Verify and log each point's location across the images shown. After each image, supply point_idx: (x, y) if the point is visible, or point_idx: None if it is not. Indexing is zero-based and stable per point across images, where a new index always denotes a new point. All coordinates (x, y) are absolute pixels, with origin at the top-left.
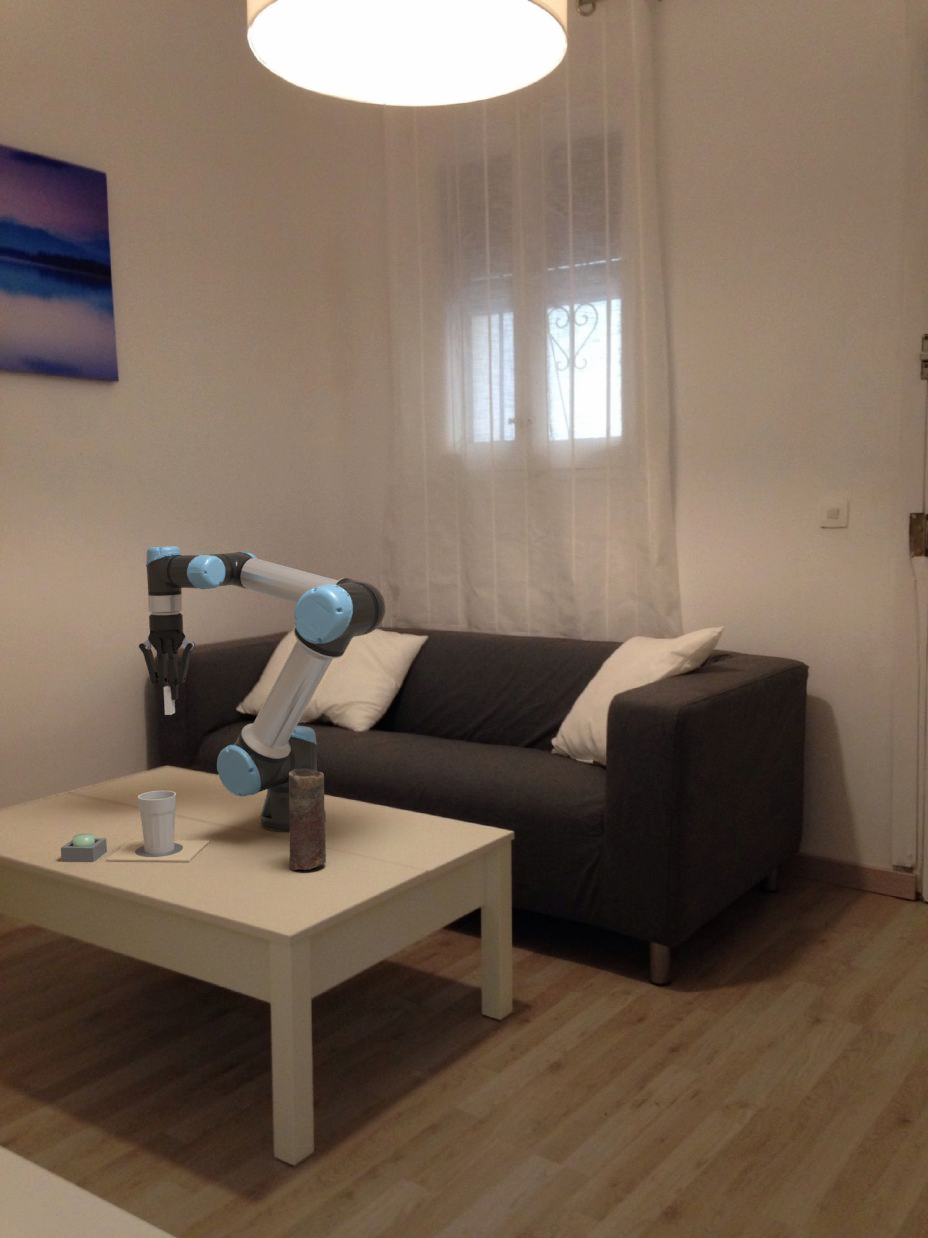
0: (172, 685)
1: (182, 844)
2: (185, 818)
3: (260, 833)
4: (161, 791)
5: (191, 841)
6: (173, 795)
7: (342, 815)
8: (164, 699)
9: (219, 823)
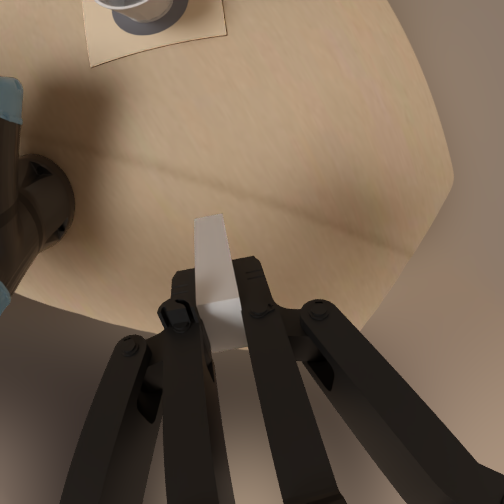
0: (165, 306)
1: (123, 35)
2: (203, 175)
3: (45, 138)
4: (136, 3)
5: (117, 53)
6: (104, 3)
7: None
8: (228, 251)
9: (131, 164)
